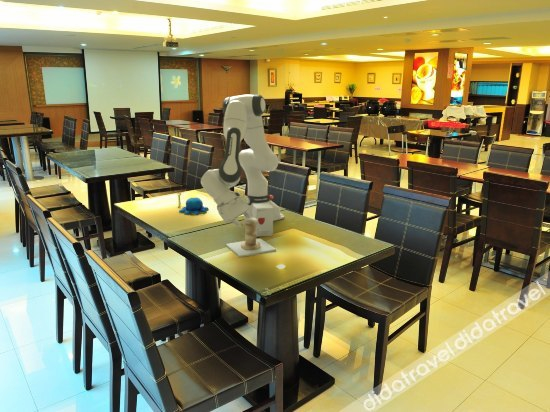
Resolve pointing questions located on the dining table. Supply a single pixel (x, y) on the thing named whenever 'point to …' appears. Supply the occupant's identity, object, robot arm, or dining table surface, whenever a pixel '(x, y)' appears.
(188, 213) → the plush toy
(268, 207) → the supplement box
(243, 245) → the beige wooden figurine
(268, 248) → the grey rubber mat
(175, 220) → the dining table surface
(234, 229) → the dining table surface
